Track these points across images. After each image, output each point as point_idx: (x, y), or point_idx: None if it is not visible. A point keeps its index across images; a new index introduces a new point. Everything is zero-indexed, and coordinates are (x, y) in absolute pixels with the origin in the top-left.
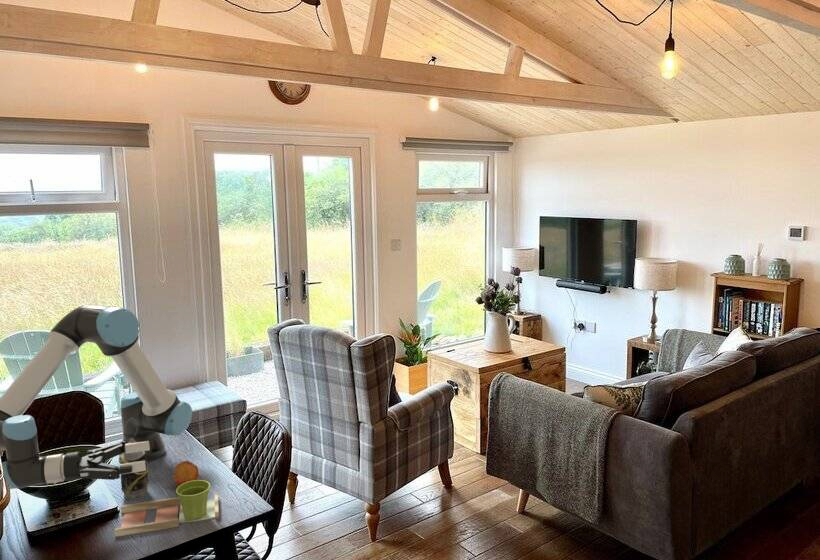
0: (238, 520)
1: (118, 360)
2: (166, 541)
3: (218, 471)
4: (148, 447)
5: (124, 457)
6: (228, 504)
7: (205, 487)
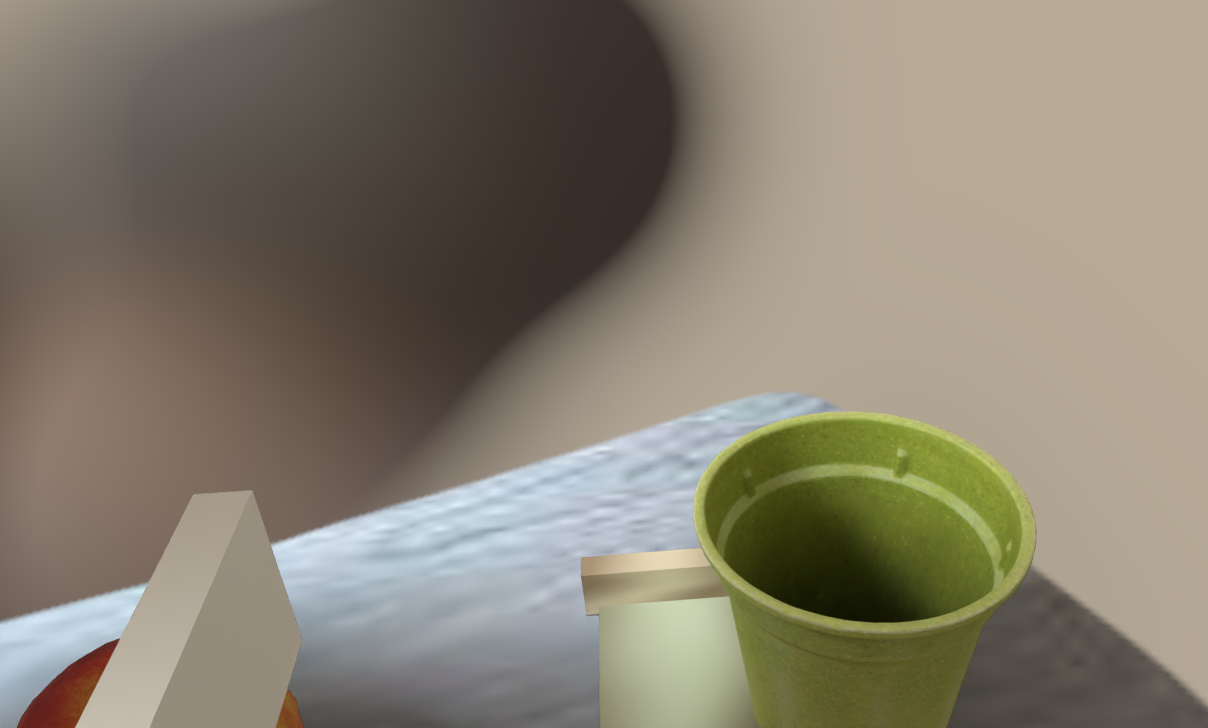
0: None
1: None
2: None
3: (102, 628)
4: (286, 600)
5: None
6: (696, 538)
7: (758, 487)
